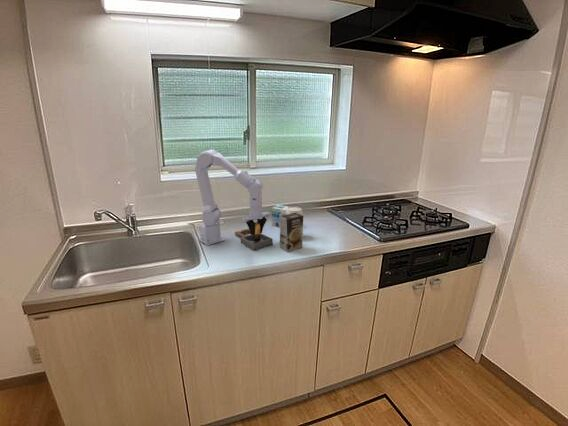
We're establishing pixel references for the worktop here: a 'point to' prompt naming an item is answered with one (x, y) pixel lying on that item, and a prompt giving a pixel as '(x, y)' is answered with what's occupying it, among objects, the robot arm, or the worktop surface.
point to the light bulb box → (278, 214)
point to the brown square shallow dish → (242, 233)
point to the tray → (256, 245)
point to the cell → (257, 233)
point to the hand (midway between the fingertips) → (256, 233)
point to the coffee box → (291, 231)
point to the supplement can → (294, 210)
